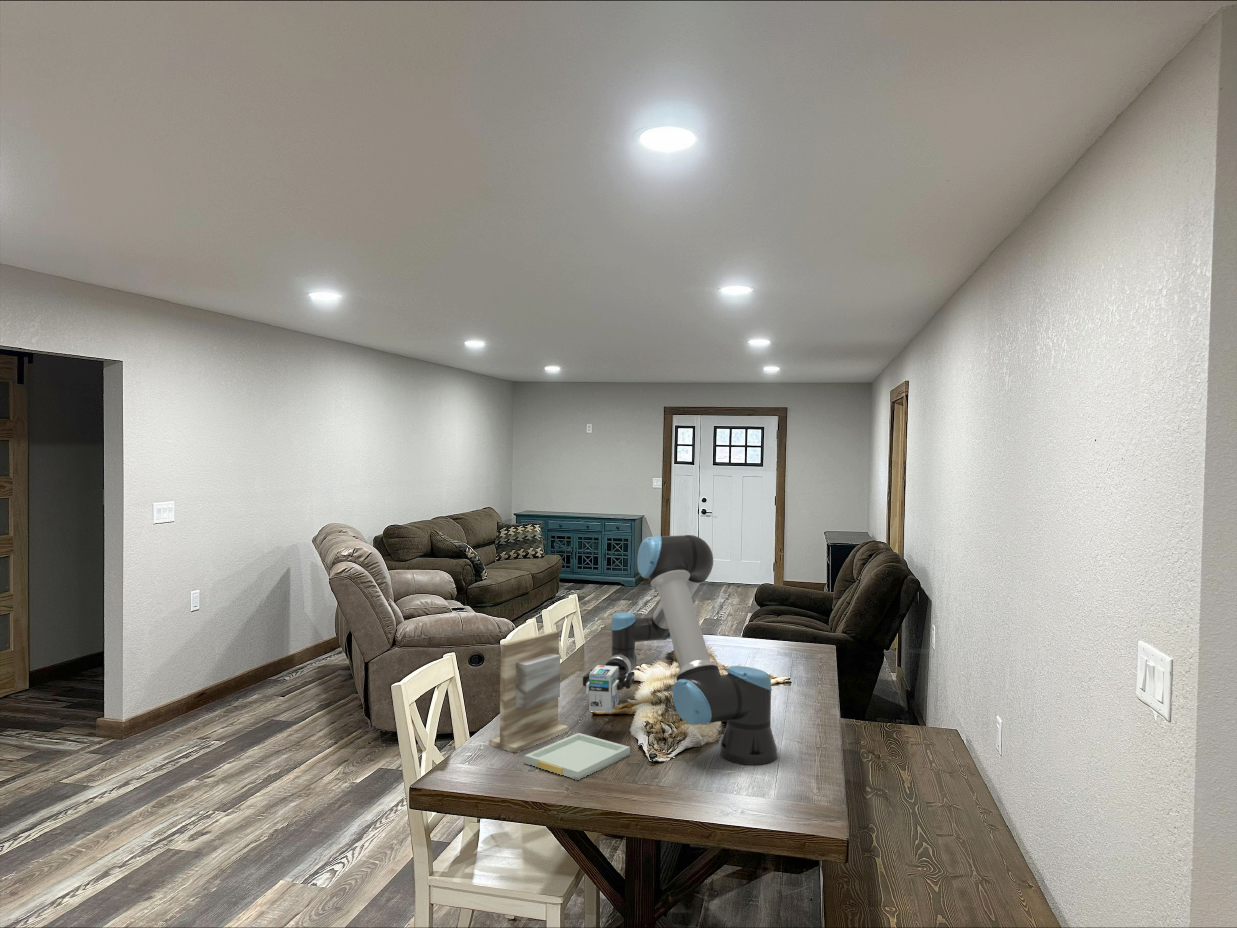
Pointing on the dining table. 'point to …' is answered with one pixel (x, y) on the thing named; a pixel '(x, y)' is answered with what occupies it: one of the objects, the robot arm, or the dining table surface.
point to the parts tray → (577, 756)
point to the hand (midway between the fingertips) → (600, 689)
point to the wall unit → (529, 692)
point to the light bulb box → (603, 688)
